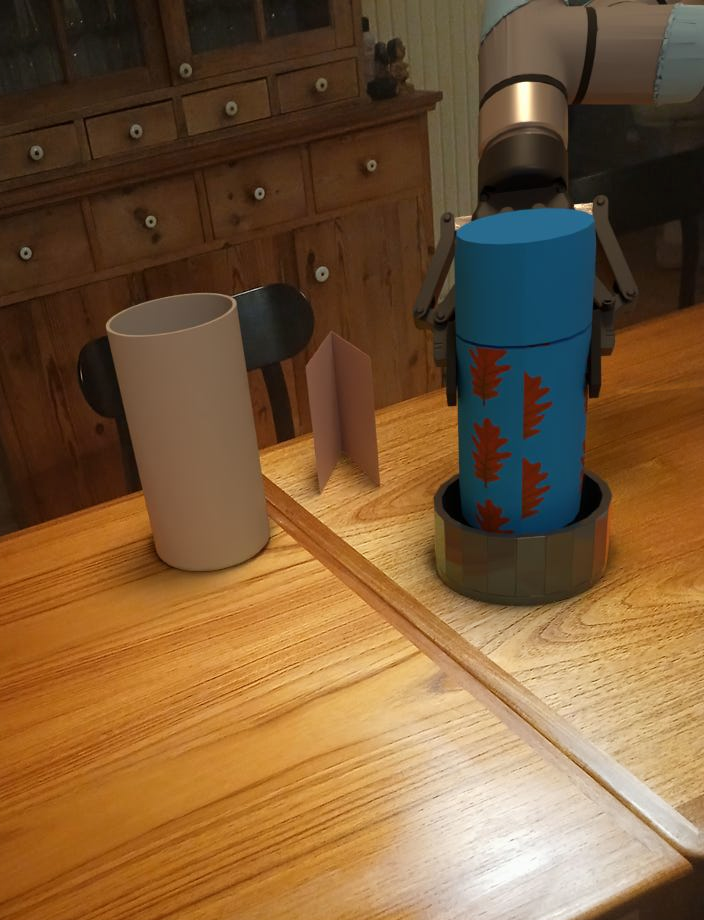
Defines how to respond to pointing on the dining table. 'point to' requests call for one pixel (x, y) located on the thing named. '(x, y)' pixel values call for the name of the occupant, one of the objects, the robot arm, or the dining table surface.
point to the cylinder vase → (192, 428)
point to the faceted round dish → (523, 551)
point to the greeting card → (342, 408)
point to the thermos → (523, 366)
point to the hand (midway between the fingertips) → (521, 396)
